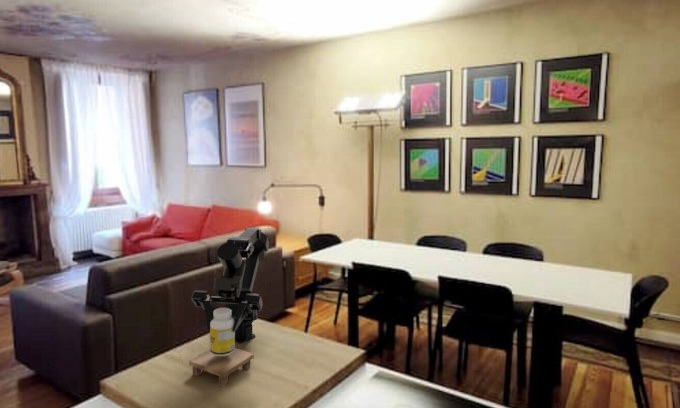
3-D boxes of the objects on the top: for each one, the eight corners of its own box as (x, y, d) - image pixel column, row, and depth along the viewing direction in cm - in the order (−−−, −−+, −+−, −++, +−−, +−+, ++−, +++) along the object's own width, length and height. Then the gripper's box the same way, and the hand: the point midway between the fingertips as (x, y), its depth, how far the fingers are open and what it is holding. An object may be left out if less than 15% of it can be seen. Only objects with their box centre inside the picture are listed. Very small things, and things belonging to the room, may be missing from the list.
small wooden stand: (189, 374, 120) (189, 360, 119) (220, 356, 130) (220, 343, 129) (223, 388, 114) (223, 373, 114) (253, 367, 125) (253, 354, 124)
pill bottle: (214, 345, 125) (213, 305, 123) (237, 346, 125) (237, 306, 123) (207, 356, 118) (206, 315, 116) (231, 357, 118) (231, 316, 116)
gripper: (193, 262, 122) (177, 317, 113) (261, 266, 121) (250, 321, 112) (203, 280, 131) (189, 332, 122) (266, 283, 130) (257, 336, 121)
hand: (220, 330), depth 119 cm, fingers closed on pill bottle, 6 cm apart
